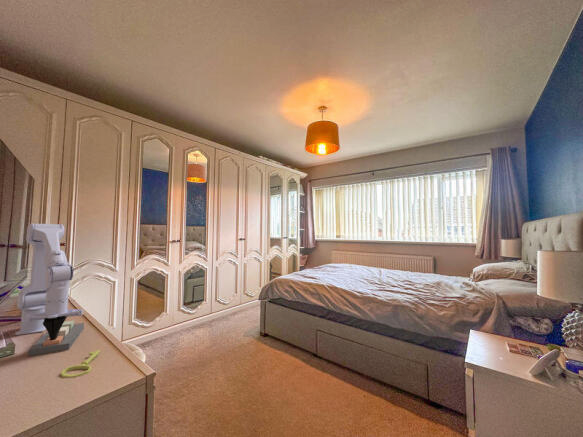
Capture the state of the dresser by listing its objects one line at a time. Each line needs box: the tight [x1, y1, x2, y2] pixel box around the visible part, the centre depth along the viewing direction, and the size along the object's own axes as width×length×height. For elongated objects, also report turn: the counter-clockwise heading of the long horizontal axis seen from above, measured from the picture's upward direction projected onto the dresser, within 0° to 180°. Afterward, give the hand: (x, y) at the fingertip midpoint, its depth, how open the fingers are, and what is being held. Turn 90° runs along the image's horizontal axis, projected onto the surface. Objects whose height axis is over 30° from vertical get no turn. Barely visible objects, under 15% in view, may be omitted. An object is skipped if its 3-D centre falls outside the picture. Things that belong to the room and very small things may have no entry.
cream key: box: [58, 326, 69, 336], centre depth 88 cm, size 4×4×2 cm
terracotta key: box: [43, 336, 63, 346], centre depth 83 cm, size 4×4×2 cm
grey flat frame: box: [27, 322, 85, 357], centre depth 88 cm, size 20×10×2 cm, turn 30°
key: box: [60, 349, 101, 378], centre depth 73 cm, size 7×12×2 cm, turn 27°
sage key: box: [61, 320, 75, 330], centre depth 94 cm, size 4×4×2 cm
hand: (53, 339), depth 83 cm, fingers closed, pressing on terracotta key
